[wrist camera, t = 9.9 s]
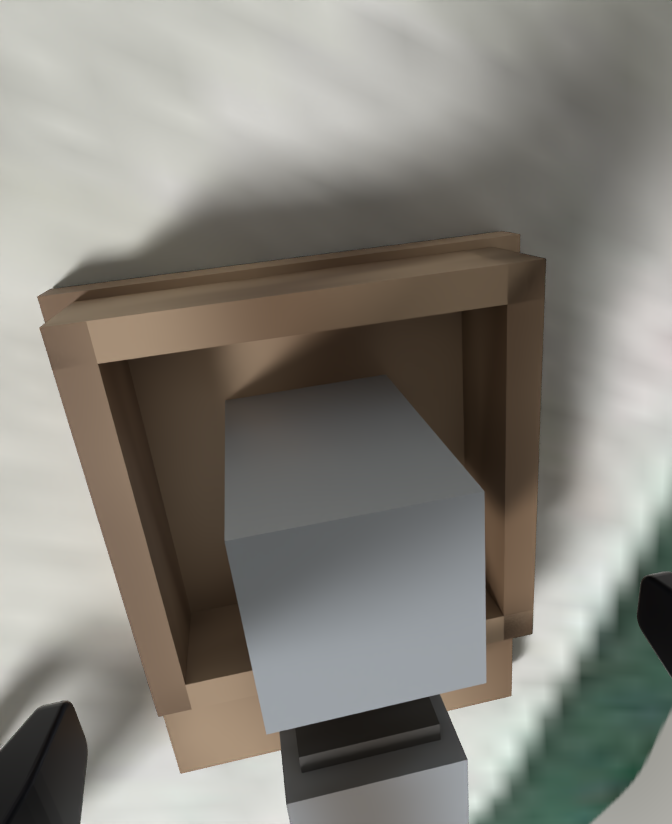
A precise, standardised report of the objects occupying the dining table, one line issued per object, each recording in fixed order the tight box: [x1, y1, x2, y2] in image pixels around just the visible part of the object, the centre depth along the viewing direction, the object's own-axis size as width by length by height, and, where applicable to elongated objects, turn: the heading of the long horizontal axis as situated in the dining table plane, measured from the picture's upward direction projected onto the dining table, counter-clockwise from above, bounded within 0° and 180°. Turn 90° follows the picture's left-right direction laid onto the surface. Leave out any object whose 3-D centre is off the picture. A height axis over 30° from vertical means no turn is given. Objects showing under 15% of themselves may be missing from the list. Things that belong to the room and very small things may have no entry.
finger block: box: [224, 375, 486, 735], centre depth 12 cm, size 4×4×6 cm
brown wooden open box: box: [37, 231, 546, 824], centre depth 14 cm, size 11×15×6 cm
